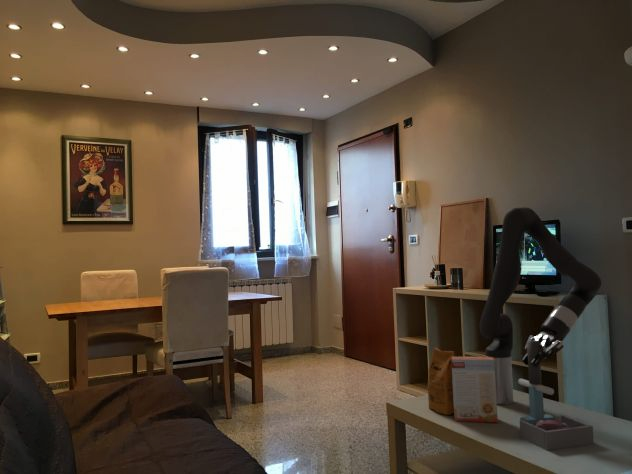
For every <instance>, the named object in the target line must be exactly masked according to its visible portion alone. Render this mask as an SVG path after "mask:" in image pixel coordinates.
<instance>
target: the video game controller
mask: <svg viewBox="0 0 632 474" xmlns="http://www.w3.org/2000/svg"><path fill="white" fill-rule="evenodd" d="M536 426H537V427H539V428H541V429H544V430H546V431H549V430H557V429H565V428H569V426H568V425H566V423H561V421H557V420H555V419H554V420H547V421H543V420H540V421H539V422H537V424H536Z"/></svg>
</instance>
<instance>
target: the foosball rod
mask: <svg viewBox="0 0 632 474" xmlns="http://www.w3.org/2000/svg"><path fill="white" fill-rule="evenodd" d="M526 344H527V350H526V353H527V352H528V365H527V366H528V367H527V368H528V380H527V379H524V378H518V381H517V383H518V384H519V385H521V386H523V387H526V388H528V400H529V416H522V417H519V419H520V420H523V421H526V422H528V423H530V424H532V425H535V426H536V424H537V422H539V421H540V420H543V421H547V420H555V417H554V416H553V415H550V414H545V412H544V410H545V409H544V394H546V395H550V396H553V395H554V393H555V390H554V388H552V387H549V386H545V385H544V384H542V383H543V382H542V365H541V363H542V362H541V363H540V364H539V365H538V366H537V368H535V367H533V366H532V365H531V361H532V360H533V359H534V357H535V356H536V355H537V354H538V352H539V350H540V344H539V341H534V340H530V341H528V340H527V341H526ZM520 420H519V421H520Z"/></svg>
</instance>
